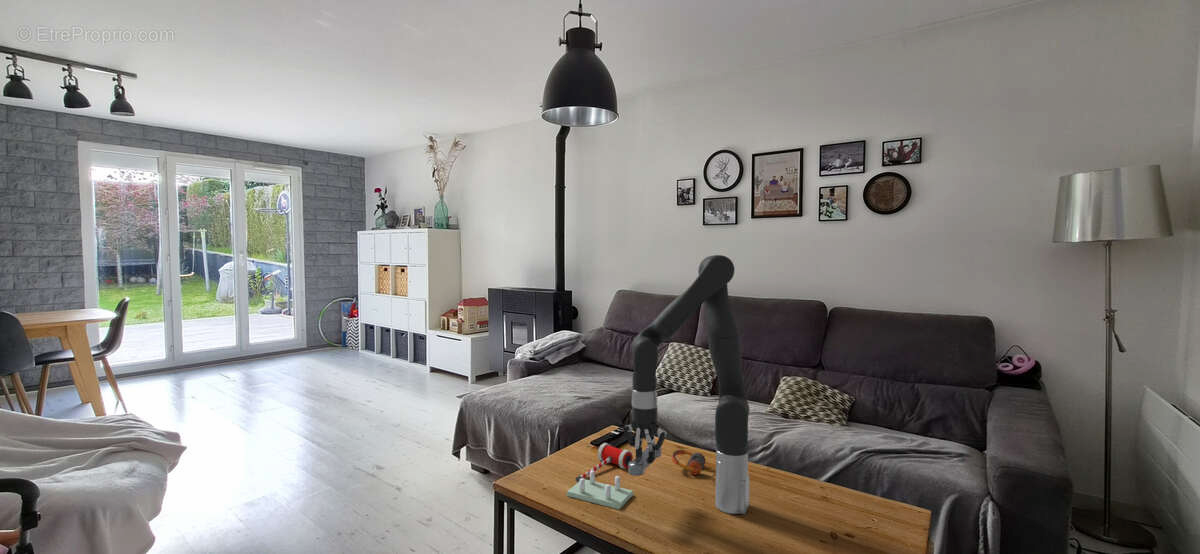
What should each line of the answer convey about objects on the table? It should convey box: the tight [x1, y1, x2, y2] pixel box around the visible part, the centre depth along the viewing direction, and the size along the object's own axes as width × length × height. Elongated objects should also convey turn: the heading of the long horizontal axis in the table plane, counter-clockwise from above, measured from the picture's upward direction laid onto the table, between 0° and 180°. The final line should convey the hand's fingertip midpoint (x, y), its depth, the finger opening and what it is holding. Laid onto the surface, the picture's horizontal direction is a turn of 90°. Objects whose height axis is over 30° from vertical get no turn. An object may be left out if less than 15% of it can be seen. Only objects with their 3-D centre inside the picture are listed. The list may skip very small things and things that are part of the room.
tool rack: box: [566, 470, 634, 510], centre depth 160 cm, size 18×10×6 cm, turn 62°
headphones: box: [671, 449, 716, 482], centre depth 178 cm, size 17×5×20 cm
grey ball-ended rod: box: [628, 443, 662, 477], centre depth 152 cm, size 18×4×3 cm, turn 153°
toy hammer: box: [575, 442, 634, 483], centre depth 178 cm, size 23×12×6 cm, turn 139°
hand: (645, 461), depth 152 cm, fingers closed on grey ball-ended rod, 3 cm apart
